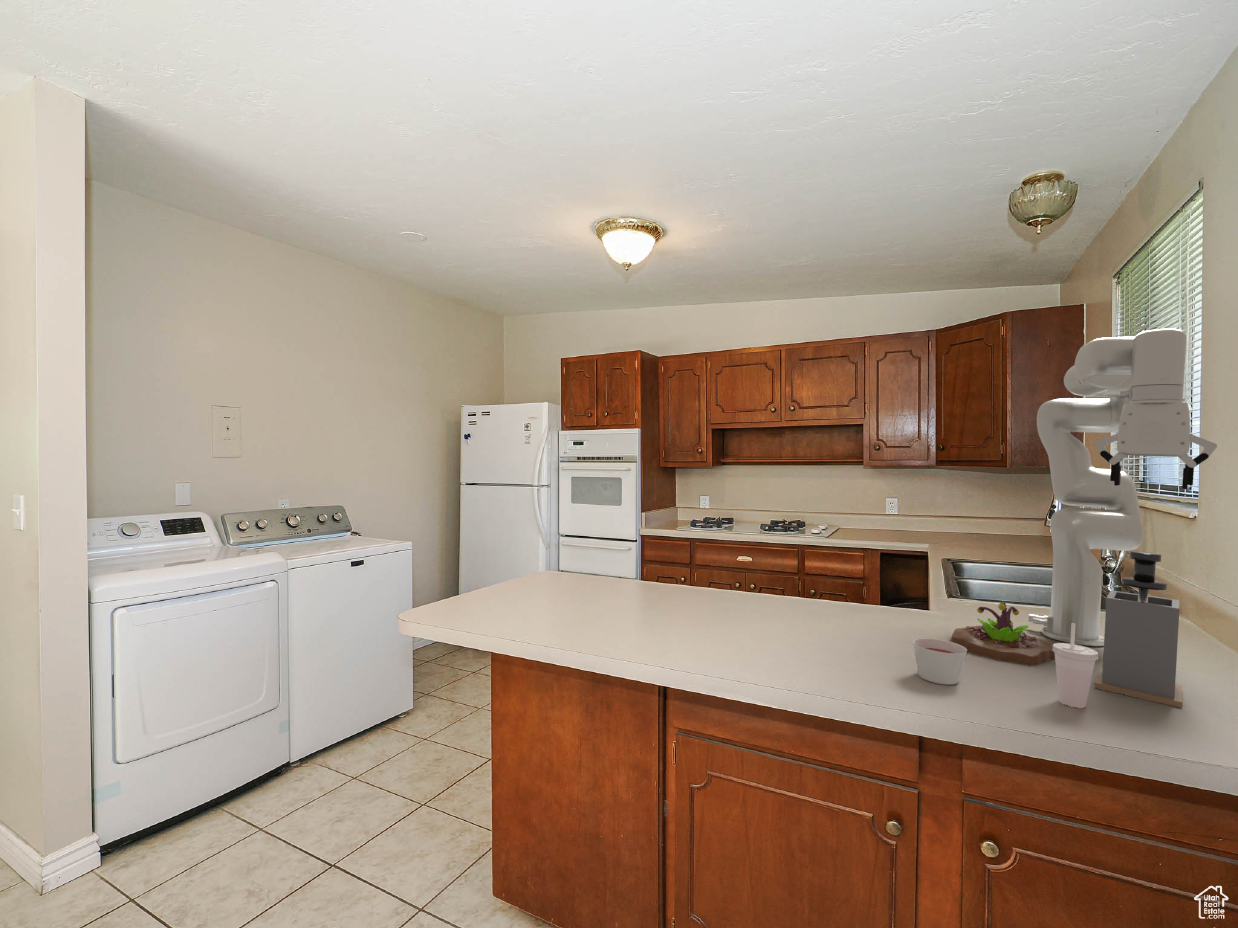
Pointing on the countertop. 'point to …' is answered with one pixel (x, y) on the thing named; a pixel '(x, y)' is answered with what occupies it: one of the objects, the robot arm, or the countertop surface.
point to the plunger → (1144, 574)
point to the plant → (1003, 640)
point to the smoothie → (1074, 671)
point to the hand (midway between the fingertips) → (1149, 487)
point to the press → (1141, 648)
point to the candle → (939, 660)
